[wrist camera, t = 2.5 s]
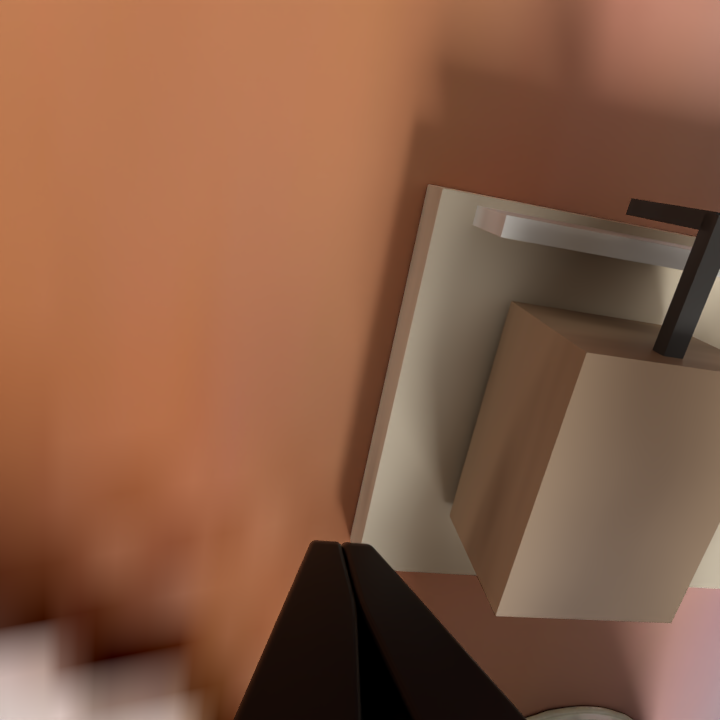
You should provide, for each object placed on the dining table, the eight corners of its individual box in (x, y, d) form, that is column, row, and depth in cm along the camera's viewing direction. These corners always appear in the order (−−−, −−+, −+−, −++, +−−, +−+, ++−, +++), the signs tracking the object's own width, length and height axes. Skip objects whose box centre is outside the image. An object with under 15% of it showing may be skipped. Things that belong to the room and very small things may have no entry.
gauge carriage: (805, 234, 16) (969, 263, 12) (671, 532, 19) (765, 626, 15) (546, 181, 14) (641, 195, 10) (449, 515, 17) (495, 616, 14)
